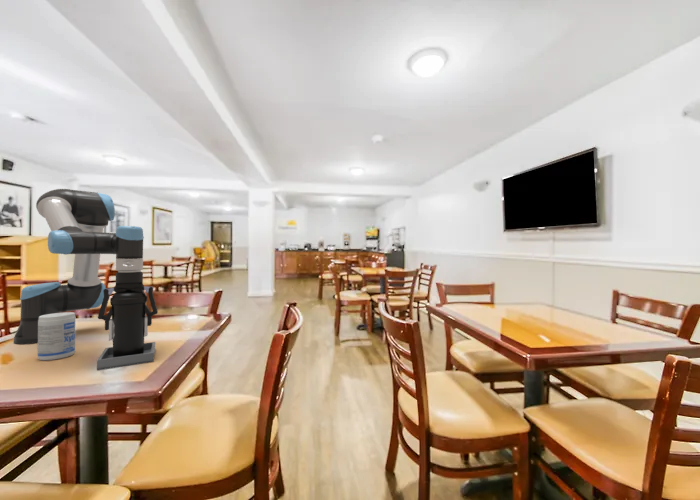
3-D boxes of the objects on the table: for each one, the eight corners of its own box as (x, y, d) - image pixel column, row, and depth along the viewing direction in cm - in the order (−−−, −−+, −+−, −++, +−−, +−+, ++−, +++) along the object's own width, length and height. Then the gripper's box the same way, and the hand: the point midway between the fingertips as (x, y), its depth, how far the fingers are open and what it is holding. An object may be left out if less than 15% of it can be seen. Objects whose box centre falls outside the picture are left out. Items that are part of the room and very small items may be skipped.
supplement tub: (72, 358, 105) (72, 315, 105) (33, 363, 100) (33, 318, 100) (77, 350, 113) (78, 310, 113) (42, 355, 108) (42, 313, 108)
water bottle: (115, 352, 106) (115, 286, 107) (149, 348, 111) (150, 285, 111) (105, 361, 97) (105, 289, 97) (143, 357, 101) (143, 288, 101)
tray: (105, 356, 106) (105, 347, 106) (155, 349, 114) (155, 341, 114) (96, 370, 94) (97, 360, 94) (153, 361, 101) (153, 352, 101)
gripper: (85, 272, 95) (84, 345, 95) (166, 271, 107) (166, 335, 106) (90, 271, 102) (90, 339, 102) (166, 270, 113) (166, 330, 113)
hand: (128, 337), depth 104 cm, fingers closed on water bottle, 9 cm apart
